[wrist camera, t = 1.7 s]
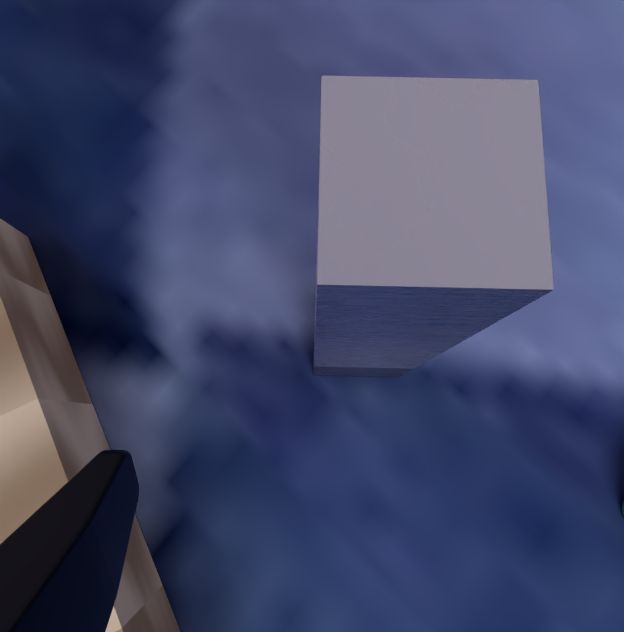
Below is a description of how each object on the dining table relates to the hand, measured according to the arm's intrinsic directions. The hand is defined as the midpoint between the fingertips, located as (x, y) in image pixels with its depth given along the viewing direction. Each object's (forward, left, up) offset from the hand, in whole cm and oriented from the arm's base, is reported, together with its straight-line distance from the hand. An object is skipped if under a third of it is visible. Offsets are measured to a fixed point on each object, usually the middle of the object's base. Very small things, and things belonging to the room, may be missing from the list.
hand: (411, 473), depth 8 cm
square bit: (+3, +3, -11) cm, 12 cm away
